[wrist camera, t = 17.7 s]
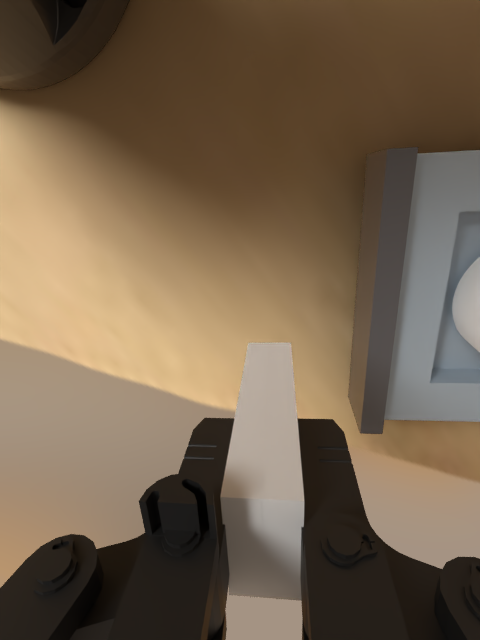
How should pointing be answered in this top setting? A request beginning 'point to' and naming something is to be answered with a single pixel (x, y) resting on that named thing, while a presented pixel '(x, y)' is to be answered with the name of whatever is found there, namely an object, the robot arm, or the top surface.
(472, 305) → the can
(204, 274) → the top surface
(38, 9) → the robot arm
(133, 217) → the top surface
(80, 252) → the top surface
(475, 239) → the tray
